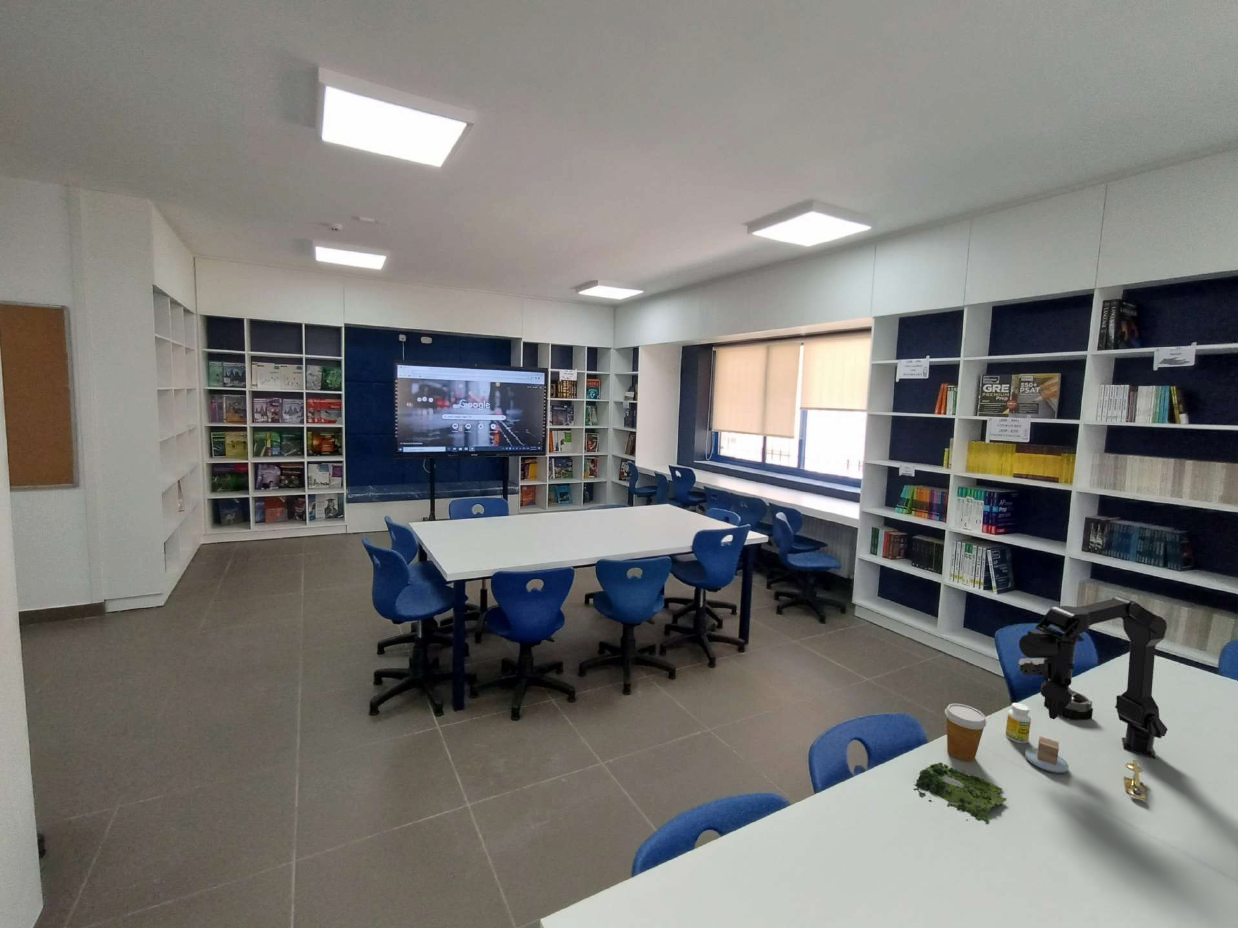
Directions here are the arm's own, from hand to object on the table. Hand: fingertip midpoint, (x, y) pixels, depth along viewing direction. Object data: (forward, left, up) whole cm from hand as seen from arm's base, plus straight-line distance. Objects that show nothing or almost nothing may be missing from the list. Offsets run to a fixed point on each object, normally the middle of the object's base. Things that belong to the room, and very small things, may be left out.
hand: (1052, 711), depth 151 cm
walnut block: (+5, 0, -11) cm, 12 cm away
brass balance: (+2, +18, -12) cm, 22 cm away
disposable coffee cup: (+16, -18, -13) cm, 27 cm away
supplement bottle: (-4, -7, -13) cm, 15 cm away
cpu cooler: (-33, +5, -13) cm, 36 cm away
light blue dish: (+5, 0, -12) cm, 13 cm away
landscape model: (+34, -16, -13) cm, 40 cm away
